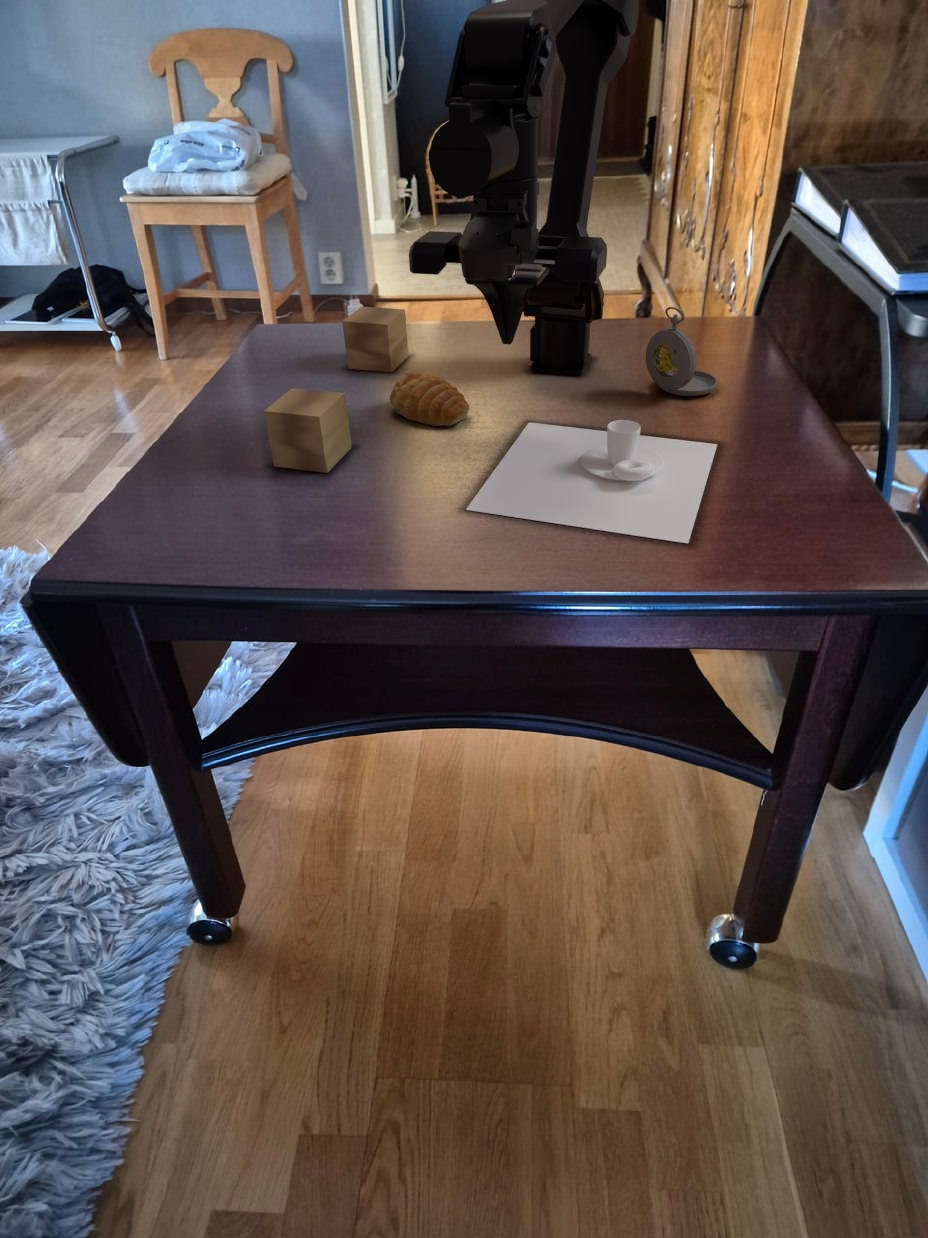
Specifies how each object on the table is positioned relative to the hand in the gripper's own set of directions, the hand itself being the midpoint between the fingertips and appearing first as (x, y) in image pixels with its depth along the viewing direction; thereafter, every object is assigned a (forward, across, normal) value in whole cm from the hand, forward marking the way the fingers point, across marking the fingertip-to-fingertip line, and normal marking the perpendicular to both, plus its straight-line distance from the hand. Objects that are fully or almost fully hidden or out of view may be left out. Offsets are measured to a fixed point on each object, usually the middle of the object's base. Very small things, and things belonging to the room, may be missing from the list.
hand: (507, 343), depth 88 cm
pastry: (+9, -9, 0) cm, 12 cm away
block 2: (+8, -21, +13) cm, 26 cm away
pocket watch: (+9, +17, +12) cm, 23 cm away
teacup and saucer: (+9, +12, -11) cm, 18 cm away
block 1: (+8, -17, -14) cm, 23 cm away
